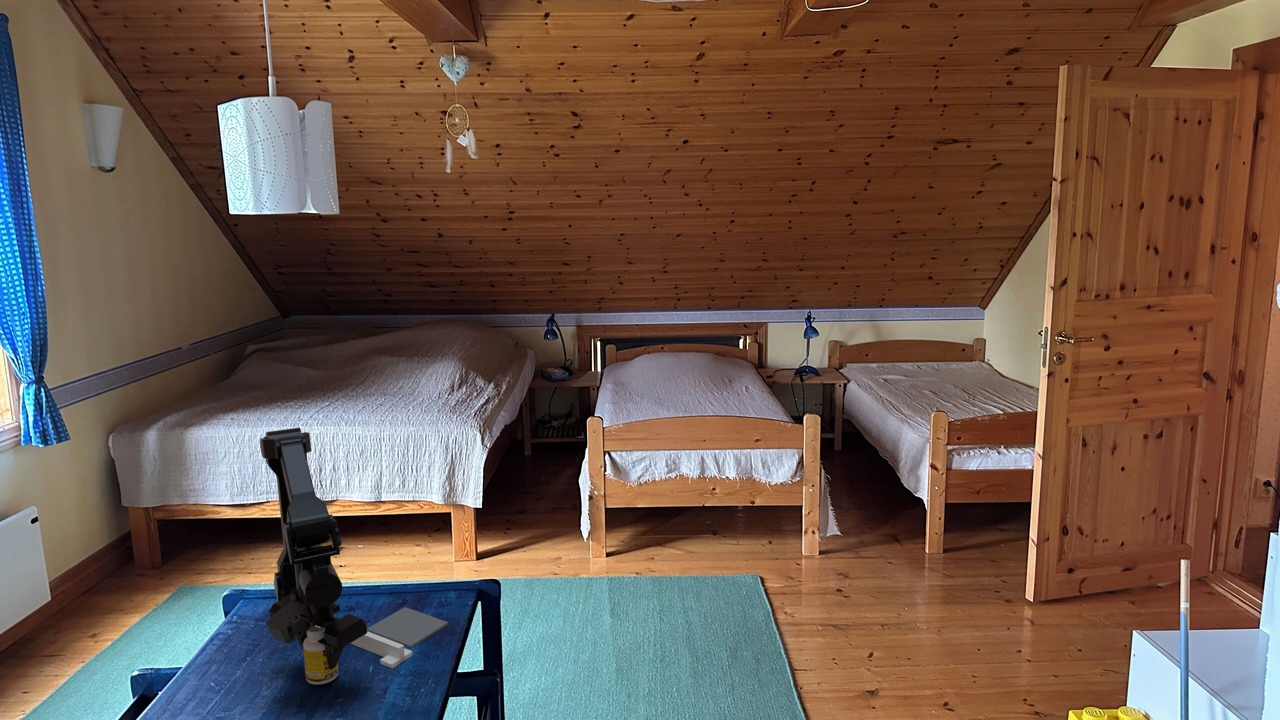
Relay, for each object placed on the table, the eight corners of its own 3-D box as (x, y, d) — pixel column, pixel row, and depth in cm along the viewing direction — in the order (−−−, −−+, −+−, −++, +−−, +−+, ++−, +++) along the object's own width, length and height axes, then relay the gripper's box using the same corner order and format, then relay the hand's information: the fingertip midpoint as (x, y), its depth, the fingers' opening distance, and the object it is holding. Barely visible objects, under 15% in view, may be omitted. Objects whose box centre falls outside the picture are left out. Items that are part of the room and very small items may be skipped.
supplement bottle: (327, 687, 141) (323, 635, 139) (299, 683, 142) (294, 632, 140) (345, 669, 146) (340, 619, 144) (317, 666, 147) (313, 616, 145)
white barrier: (318, 638, 157) (316, 624, 157) (339, 626, 161) (338, 612, 161) (392, 668, 147) (390, 653, 147) (412, 655, 152) (411, 640, 151)
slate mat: (366, 631, 160) (366, 629, 160) (404, 609, 168) (404, 607, 168) (410, 648, 154) (410, 646, 154) (448, 624, 162) (448, 622, 162)
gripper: (237, 587, 138) (246, 671, 141) (310, 616, 129) (318, 704, 132) (294, 562, 148) (301, 640, 151) (366, 587, 138) (372, 670, 142)
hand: (321, 663), depth 144 cm, fingers closed on supplement bottle, 5 cm apart
